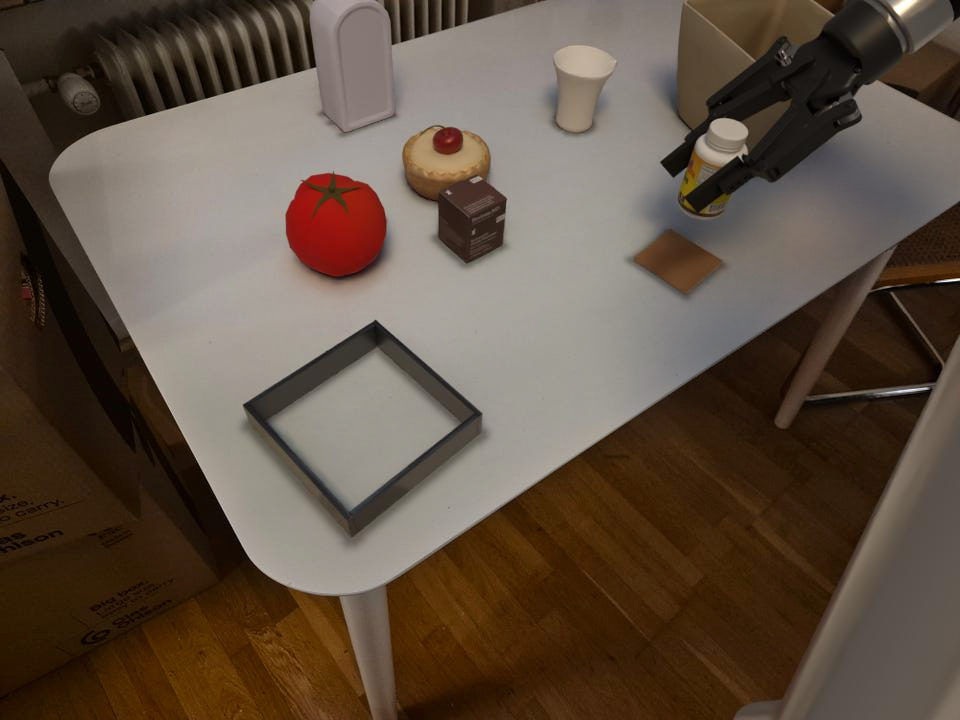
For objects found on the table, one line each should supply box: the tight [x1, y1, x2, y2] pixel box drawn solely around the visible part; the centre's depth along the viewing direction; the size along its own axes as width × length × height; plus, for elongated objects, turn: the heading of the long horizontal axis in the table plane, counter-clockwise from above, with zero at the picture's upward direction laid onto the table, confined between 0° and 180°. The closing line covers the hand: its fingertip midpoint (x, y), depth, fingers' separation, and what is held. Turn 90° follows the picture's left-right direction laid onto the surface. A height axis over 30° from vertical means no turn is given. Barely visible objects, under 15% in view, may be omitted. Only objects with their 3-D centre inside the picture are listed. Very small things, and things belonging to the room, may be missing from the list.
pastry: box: [401, 124, 492, 201], centre depth 88 cm, size 12×12×9 cm
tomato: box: [285, 170, 388, 277], centre depth 77 cm, size 12×12×11 cm
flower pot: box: [676, 0, 836, 154], centre depth 96 cm, size 19×19×17 cm
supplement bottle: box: [676, 118, 748, 221], centre depth 73 cm, size 6×6×10 cm
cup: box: [552, 44, 619, 134], centre depth 98 cm, size 9×9×10 cm
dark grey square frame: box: [242, 319, 484, 538], centre depth 65 cm, size 16×16×4 cm
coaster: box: [632, 228, 724, 295], centre depth 84 cm, size 8×8×1 cm
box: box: [437, 175, 508, 263], centre depth 81 cm, size 6×6×7 cm
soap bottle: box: [309, 0, 396, 133], centre depth 91 cm, size 9×7×23 cm
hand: (678, 186), depth 74 cm, fingers closed on supplement bottle, 6 cm apart
